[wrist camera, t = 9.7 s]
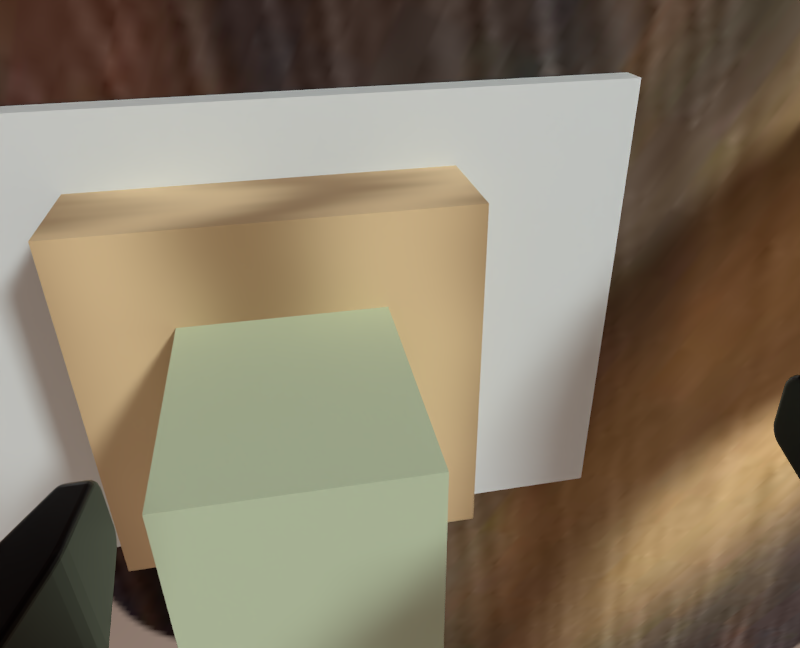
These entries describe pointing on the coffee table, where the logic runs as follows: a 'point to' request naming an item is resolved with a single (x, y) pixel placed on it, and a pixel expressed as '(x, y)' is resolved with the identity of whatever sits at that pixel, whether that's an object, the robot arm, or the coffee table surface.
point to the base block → (261, 297)
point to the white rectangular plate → (338, 154)
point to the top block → (298, 488)
